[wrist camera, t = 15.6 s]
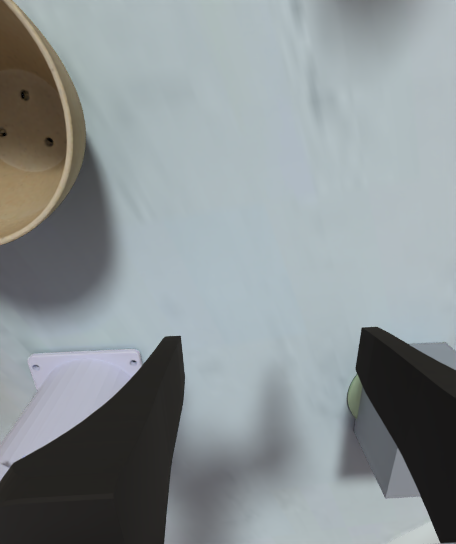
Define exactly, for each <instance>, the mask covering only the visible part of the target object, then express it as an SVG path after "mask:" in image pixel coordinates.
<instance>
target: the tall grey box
mask: <svg viewBox="0 0 456 544" xmlns="http://www.w3.org/2000/svg"><path fill="white" fill-rule="evenodd" d="M409 345H410V346H412V347H414V348H416V349H417V350H419V351H421V352H423V353H424V354H426V355H428V356H430V357H432V358H433V359H435V360H437V361H439V362H441V363H443V364H445V365H447V366H449V367H451V368H453V369H454V370H456V351H455V350H454V349H453V348H452V347H450V346H449V345H448V344H447V343H446V342H444V343H423V344H409ZM354 433H355V435H356V437H357V439H358V441H359V444H360V446H361V448H362V450H363V452H364V454H365V456H366V458H367V460H368V463H369V465H370V467H371V469H372V471H373V473H374V475H375V477H376V480H377V482H378V484H379V486H380V488H381V490H382V492H383V494H384V497H385V498H402V497H420V493H419V491H418V489H417V487H416V484H415V482H414V480H413V478H412V476H411V474H410V471H409V469H408V467H407V465H406V463H405V461H404V459H403V457H402V455H401V453H400V451H399V449H398V447H397V445H396V444H395V442H394V440H393V439H392V437H391V435H390V434H389V432H388V430H387V429H386V427H385V425H384V424H383V422H382V420H381V418H380V417H379V415H378V413H377V412H376V410H375V408H374V407H373V405H372V403H371V402H370V400H369V398H368V396H367V395H366V393H365V391H364V388H363V386H362V392H361V398H360V404H359V410H358V416H357V419H356V420H355V426H354Z"/></svg>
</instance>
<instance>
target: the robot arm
mask: <svg viewBox="0 0 456 544" xmlns="http://www.w3.org/2000/svg"><path fill="white" fill-rule="evenodd" d="M132 360H135V361H136V363H134V362H132ZM27 361H28V365H29V368H30V371H31V374H32V377H33V380H34V383H35V386H36V389H37V393H36V394H35V396H34V397H33V398H32V400H31V401H30V403H29V404H28V406H27V407H26V408H25V410H24V411H23V413H22V414H21V416H20V417H19V418H18V420H17V421H16V423H15V424H14V425H13V427H12V428H11V430H10V431H9V433H8V434H7V435H6V437H5V438H4V440H3V441H2V443H1V444H0V544H164V538H165V525H166V514H167V503H168V492H169V482H170V472H171V464H172V457H173V452H174V447H175V442H176V437H177V431H178V426H179V421H180V416H181V411H182V405H183V398H184V384H185V373H184V363H183V354H182V344H181V336H168V337H164V338H163V339H162V341H161V342H160V344H159V345H158V346H157V348H156V349H155V350H154V352H153V353H152V354H151V355H150V357H149V358H148V359H147V360H146V362H145V363H144V364H143V365H142V361H141V355H140V352H139V351H138V350H136V349H120V350H98V351H77V352H55V353H35V354H32V355H30V357H29V358H28V360H27ZM36 365H38V366H39V367H37V366H36ZM356 372H357V374H358V377H359V379H360V382H361V384H362V386H363V388H364V391H365V393H366V395H367V396H368V398H369V400H370V402H371V403H372V405H373V407H374V408H375V410H376V412H377V413H378V415H379V417H380V418H381V420H382V422H383V424H384V425H385V427H386V429H387V430H388V432H389V434H390V435H391V437H392V439H393V440H394V442H395V444H396V445H397V447H398V449H399V451H400V453H401V455H402V457H403V459H404V461H405V463H406V465H407V467H408V469H409V471H410V474H411V476H412V478H413V480H414V482H415V484H416V487H417V489H418V491H419V493H420V496H421V498H422V500H423V502H424V505H425V507H426V509H427V512H428V514H429V516H430V519H431V521H432V524H433V526H434V529H435V531H436V534H437V536H438V538H439V541H440V544H456V370H454V369H453V368H451V367H449V366H447V365H445V364H443V363H441V362H439V361H437V360H435V359H433V358H432V357H430V356H428V355H426V354H424V353H423V352H421V351H419V350H417V349H416V348H414V347H412V346H410V345H409V344H407V343H405V342H404V341H402V340H400V339H398V338H397V337H395V336H393V335H392V334H390V333H388V332H386V331H384V330H382V329H380V328H378V327H365V328H362V330H361V337H360V343H359V350H358V357H357V363H356Z"/></svg>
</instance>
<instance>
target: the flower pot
mask: <svg viewBox="0 0 456 544" xmlns="http://www.w3.org/2000/svg"><path fill="white" fill-rule="evenodd" d="M22 92H23V93H24V95H25V97H24V99H23V98H22V95H21V93H22ZM3 133H6V134H7V135H6V136H3ZM48 138H51V139H52V140H53V142H50V141H49V140H48ZM85 145H86V128H85V120H84V114H83V110H82V106H81V103H80V100H79V97H78V94H77V91H76V89H75V87H74V84H73V82H72V80H71V78H70V76H69V74H68V72H67V70H66V69H65V67H64V65H63V63H62V62H61V60H60V58H59V57H58V55H57V54H56V52H55V51H54V49H53V48H52V46H51V45H50V44H49V42H48V41H47V40H46V38H45V37H44V36H43V34H42V33H41V32H40V31H39V29H38V28H37V27H36V26H35V25H34V23H33V22H32V21H31V20H30V19H29V18H28V17H27V15H26V14H25V13H24V12H23V11H22V10H21V9H20V8H19V7H18V6H17V5H16V4H15V3H14V2H13V1H12V0H0V245H3V244H6V243H9V242H11V241H14V240H16V239H18V238H20V237H22V236H23V235H25V234H27V233H29V232H30V231H31V230H33V229H34V228H35V227H37V226H38V225H39V224H41V223H42V222H43V221H44V220H45V219H46V218H47V217H49V216H50V215H51V214H52V213H53V212H54V211H55V209H56V208H57V207H58V206H59V205H60V204H61V203H62V201H63V200H64V199H65V197H66V196H67V194H68V193H69V191H70V190H71V188H72V186H73V185H74V183H75V181H76V179H77V176H78V174H79V171H80V169H81V166H82V162H83V158H84V153H85Z"/></svg>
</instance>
